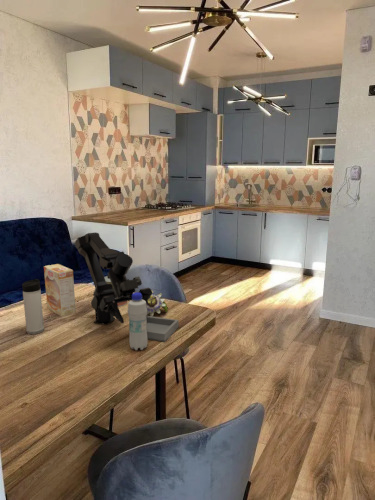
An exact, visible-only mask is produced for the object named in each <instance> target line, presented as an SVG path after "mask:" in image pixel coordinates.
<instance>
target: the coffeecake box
mask: <svg viewBox="0 0 375 500" xmlns="http://www.w3.org/2000/svg"><path fill="white" fill-rule="evenodd" d="M43 273H44V274H43V275H44V284H45V285H44V287H45V297H46V308H47V309H48V308H49V310H50V311H51V312H54V313H55V314H56V315H58V316H60V317H65V316H69V315H72V314H76V313H77V312H76V311H77V310H76V309H77V308H76V299H75V298H76V297H75V282H74V270H73V269H71V268H69V267H66V266H64V265H62V264H60V263H56V264H51V265H50V264H48V265H45V266H43Z"/></svg>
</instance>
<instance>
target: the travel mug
mask: <svg viewBox="0 0 375 500" xmlns="http://www.w3.org/2000/svg"><path fill="white" fill-rule="evenodd" d="M21 288H22V300H23V307H24V319H25V328H26V329H25V330H26V333H27V334H28V333H29V334H28V335H38V334H37V333H39V334H40V333H43V332H44V331H45V324H44V323H45V322H44V314H43V302H42V291H41V282H40V279H39V278H34V279H30V280H27V281H24V282H23V283H22V284H21Z"/></svg>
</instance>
